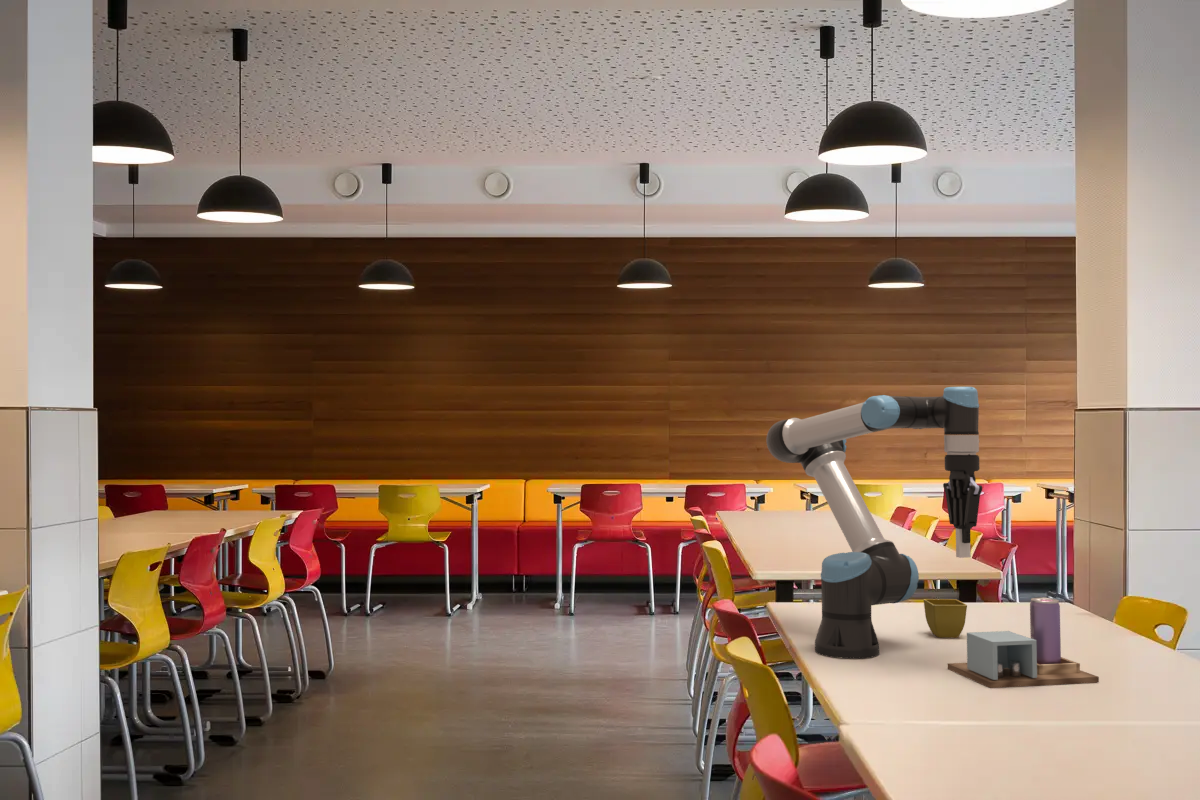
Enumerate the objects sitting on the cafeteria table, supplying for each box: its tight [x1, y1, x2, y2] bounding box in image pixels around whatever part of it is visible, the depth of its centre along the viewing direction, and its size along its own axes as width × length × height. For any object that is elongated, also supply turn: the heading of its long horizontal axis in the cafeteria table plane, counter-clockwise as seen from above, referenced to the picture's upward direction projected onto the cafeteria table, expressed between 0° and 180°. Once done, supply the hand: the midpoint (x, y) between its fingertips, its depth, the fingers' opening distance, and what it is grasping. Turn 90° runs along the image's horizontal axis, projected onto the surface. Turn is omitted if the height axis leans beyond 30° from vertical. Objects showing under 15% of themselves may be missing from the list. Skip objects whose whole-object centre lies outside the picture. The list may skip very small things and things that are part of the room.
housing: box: [966, 630, 1037, 680], centre depth 210 cm, size 10×10×8 cm
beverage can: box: [1029, 597, 1062, 665], centre depth 215 cm, size 6×6×15 cm
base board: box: [946, 657, 1100, 689], centre depth 214 cm, size 25×17×3 cm
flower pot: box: [923, 598, 968, 639], centre depth 256 cm, size 9×9×9 cm
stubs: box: [997, 661, 1021, 678], centre depth 208 cm, size 6×2×3 cm, turn 100°
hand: (963, 557), depth 225 cm, fingers closed
